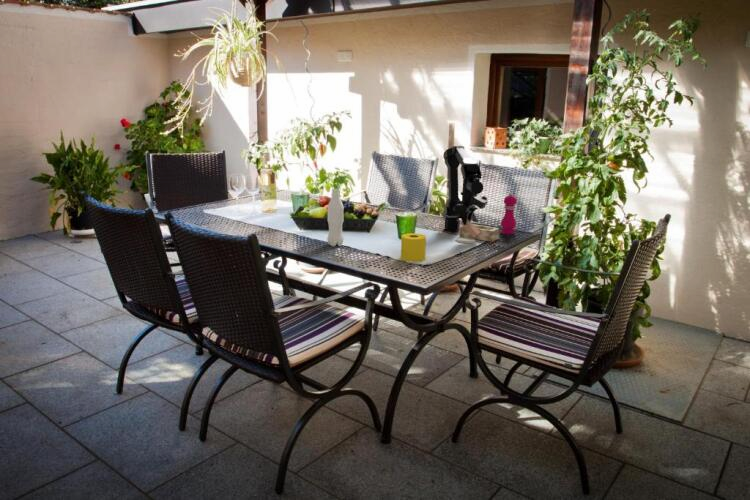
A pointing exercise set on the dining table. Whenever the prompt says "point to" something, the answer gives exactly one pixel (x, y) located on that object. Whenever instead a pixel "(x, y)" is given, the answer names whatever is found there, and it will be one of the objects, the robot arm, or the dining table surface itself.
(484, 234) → the beech pocket board
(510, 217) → the pepper mill
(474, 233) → the terracotta block
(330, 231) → the water bottle
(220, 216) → the dining table surface
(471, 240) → the felt coaster
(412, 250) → the yellow hollow cylinder
